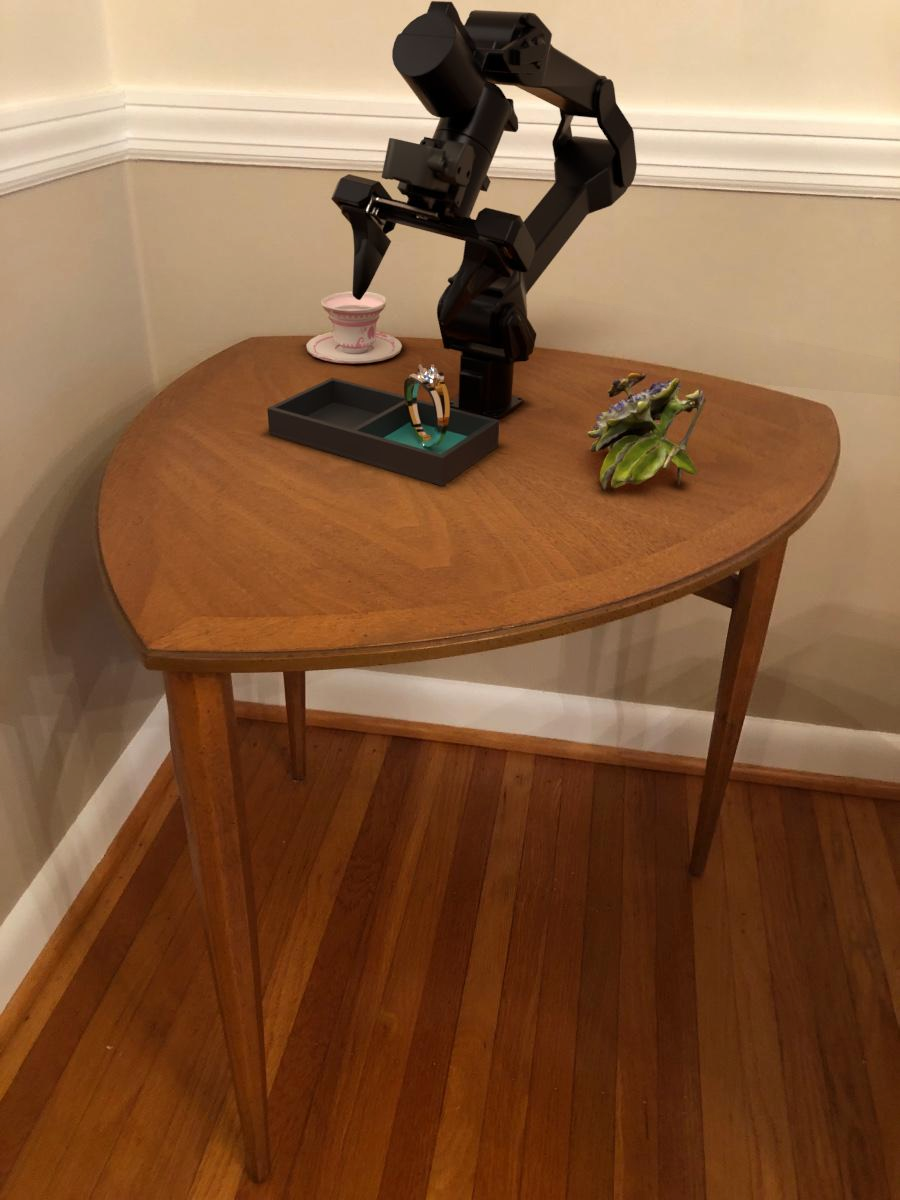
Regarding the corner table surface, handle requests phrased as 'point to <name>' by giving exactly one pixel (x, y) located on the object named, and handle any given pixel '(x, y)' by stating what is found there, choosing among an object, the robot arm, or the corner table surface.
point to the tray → (382, 430)
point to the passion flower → (643, 431)
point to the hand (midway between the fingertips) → (398, 310)
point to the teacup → (354, 331)
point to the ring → (441, 408)
